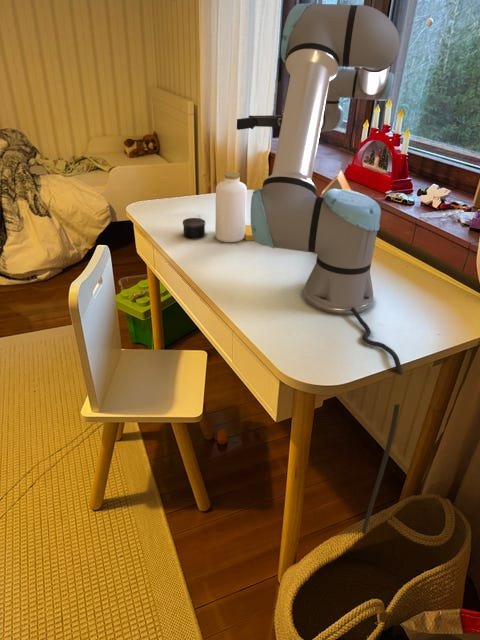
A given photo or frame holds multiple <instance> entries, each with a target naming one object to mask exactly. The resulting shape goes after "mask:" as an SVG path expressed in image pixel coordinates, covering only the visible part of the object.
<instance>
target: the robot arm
mask: <svg viewBox="0 0 480 640" xmlns="http://www.w3.org/2000/svg"><path fill="white" fill-rule="evenodd" d="M283 26H284V27H283V31H282V39H281V45H280V57H281V61H282V62H283V63H285V68H286V71H287V72H288V74H289V75H290V76H289V81H288V87H287V92H286V99H285V102H284V103H285V104H284V109H283V114H282V115H280V114H273V115H271V114H269V115H248V117H243V118H236V130H238V131H240V130H246V129H251V130H254V129H255V128H257V127H260V128H261V127H262V128H263V127H264V128H272V139H277V138H278V140H277V144H276V145H277V146H276V150H275V157H274V162H273V167H272V173H271V175H269V176H267V177H266V178H264V180H263V181H262V186H261V188H257V189H253V191H252V194H251V200H250V225H251V230H252V236H253V238H254V240H253V241H254V242H255V243H256V244H258V245H260V246H265V247H270V248H272V249H275V248H277V249H284V250H292V251H297V252H298V251H300V252H307V253H313V254H316V258H315V259H316V262H315V264H314V266H313V268H312V269H311V272H310V273H309V276H308V278H307V280H306V282H305V284H304V287H303V298H304V299H305V301H306V302H307V303H308V304H309V305H310V306H312V307H313V308H316V309H318V310H320V311H323V312H326V313H328V314H329V313H330V314H336V315H347V316H348V315H354V317H355V318H356V320H357V321H358V323H359V324H360V325H361V326H362V327H363V329H364V330H365V333H364V334H363V336H362V340H363V342H364V343H365V344H367V345H369V346H373V347H377V348H380V349H382V350H384V351H385V352H387V353H388V354H389V355H390V356H391V357H392V359H393V361H394V365H395V368H396V374H397V375H399V376H402V375H403V373H404V372H403V368H402V364H401V361H400V357H399V356H398V355H397V353H396V352H395V350H393V348H391V347H390V346H388V345H386V344H385V343H383V342H381V341H376V340H371V339H369V337H370V336H371V334H372V333H371V328H370V327H369V325H368V324H367V323H366V322H365V320H364V319H363V318H362V316H361V315H360V314H361V313H363V312H366V311H367V310H369V309H370V308H371V307H372V304H373V300H374V288H373V283H372V275H371V267H372V262H373V258H374V250H375V246H376V240H377V236H378V235H377V234H378V231H379V230H380V227H381V226H380V222H381V214H382V211H381V206H380V205H379V203H378V202H377V201H376V200H374V199H373V198H372V197H370V196H368V195H366V194H364V193H360V192H358V191H354V190H351V191H350V190H344V189H339V190H337V189H331V190H328V191H327V192H326V194H325V195H324V197H320V196H318V195H317V191H318V189H317V186H316V185H315V184H314V182H313V181H312V178H313V175H314V169H315V168H314V167H315V162H316V156H317V151H318V146H319V141H320V140H319V139H320V134H321V133H325V132H331V131H334V130H336V129H339V128H340V127H341V126H342V125H343V122H344V120H345V114H344V109H343V108H342V106H340V102H341V98H344V99H345V98H346V99H359V100H371V101H377V102H379V101H389V100H390V99H391V95H392V91H393V85H394V79H395V74H394V72H391V71H390V69H391V66H392V65H393V64H394V63H395V61H396V60H397V58H398V55H399V51H400V47H401V46H400V45H401V43H400V35H399V31H398V30H397V27H396V26H395V24H394V23H393V21H392V20H391V19H390V17H388V16H387V15H386V14H384V12H382V11H380V10H379V9H377V8H374V7H372V6H369V5H366V4H339V3H338V4H337V3H316V2H313V1H312V2H308V3H298V4H295V5H294V6H293V7H292V8H291V9H290V11H289V12H288V15H287V17H286V20H285V23H284V25H283ZM351 68H359V70H358V69H351ZM399 412H400V403H399V404H397V403H396V404H394V405H393V411H392V416H391V423H390V427H389V432H388V435H387V436H388V437H387V441H386V446H385V449H384V452H383V457H382V460H381V464H380V467H379V470H378V473H377V477H376V481H375V484H374V488H373V491H372V494H371V497H370V500H369V504H368V507H367V511H366V515H365V518H364V521H363V525H362V528H361V529H362V530H361V534H363V533H364V534H363V535H366V533H367V530H368V526H369V523H370V519H371V516H372V512H373V509H374V505H375V502H376V499H377V496H378V493H379V489H380V486H381V483H382V480H383V476H384V473H385V470H386V466H387V464H388V460H389V457H390V453H391V452H390V451H391V449H392V444H393V441H394V436H395V432H396V427H397V422H398V417H399Z"/></svg>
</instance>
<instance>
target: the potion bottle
mask: <svg viewBox="0 0 480 640" xmlns="http://www.w3.org/2000/svg"><path fill="white" fill-rule="evenodd" d="M240 179H241V177H240V173H238V172H234V171H229V172H224V173H223V180H222V181H220V182H218V183H217V184H216V186H215V228H214V229H215V230H214V231H215V232H214V233H215V237H216V239H217V240H219V241H221V242H222V243H238V242H241V241H242V240H243V239H245V225H246V217H247V216H246V214H247V195H248V194H247V193H248V189H247V185H246V184H245V183H244V182H241V181H240Z"/></svg>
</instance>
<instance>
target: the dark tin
mask: <svg viewBox="0 0 480 640" xmlns="http://www.w3.org/2000/svg"><path fill="white" fill-rule="evenodd" d="M182 225H183V227H182V228H183V237H185V238H186V239H191V240H200V239H202V238H204V237H205V236H206V220H205V219H203V218H199V217H189V218H185V219H183V220H182Z"/></svg>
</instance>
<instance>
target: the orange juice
mask: <svg viewBox="0 0 480 640" xmlns="http://www.w3.org/2000/svg"><path fill="white" fill-rule="evenodd" d="M331 189H337V190H339V189H344V190H350V191H352V189H351V187H350V185H349V183H348V180H347V178H346V176H345V175H344V173H343V170H340V171H339V172H338V174H336V176H335V177H333V179H332V180H331V181H330V182H329V183H328V185H326V187H325V188H324V189H323V190H322V192H321V194H320V195H319V197H324V195H325V194H326V192H327V191H328V190H331Z"/></svg>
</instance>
